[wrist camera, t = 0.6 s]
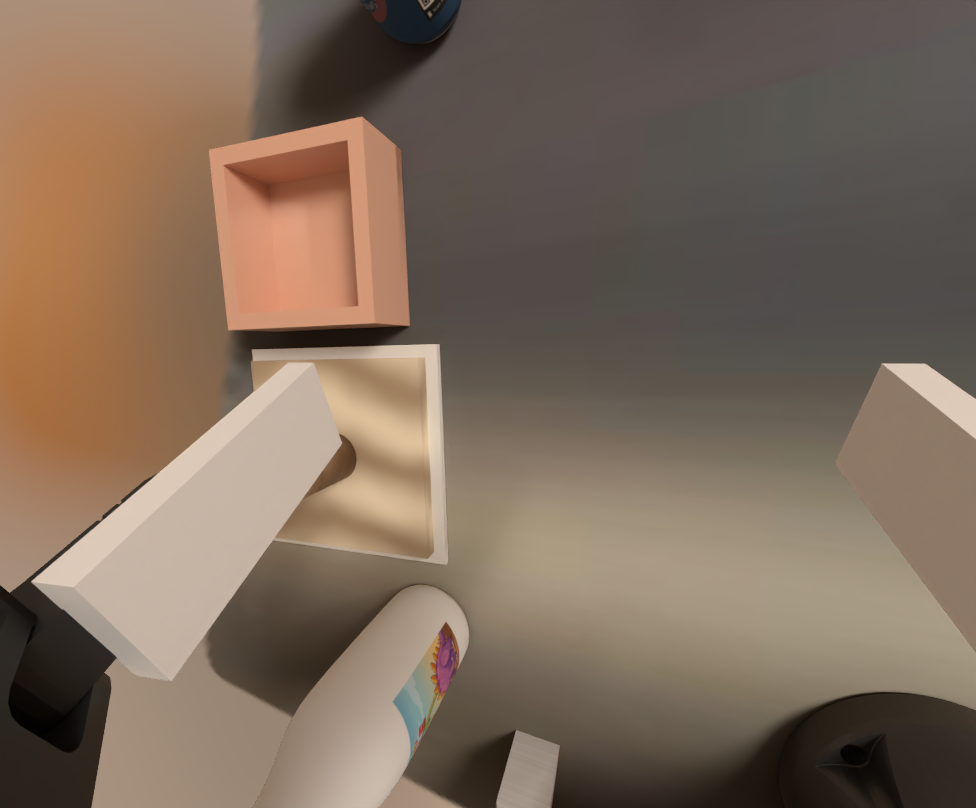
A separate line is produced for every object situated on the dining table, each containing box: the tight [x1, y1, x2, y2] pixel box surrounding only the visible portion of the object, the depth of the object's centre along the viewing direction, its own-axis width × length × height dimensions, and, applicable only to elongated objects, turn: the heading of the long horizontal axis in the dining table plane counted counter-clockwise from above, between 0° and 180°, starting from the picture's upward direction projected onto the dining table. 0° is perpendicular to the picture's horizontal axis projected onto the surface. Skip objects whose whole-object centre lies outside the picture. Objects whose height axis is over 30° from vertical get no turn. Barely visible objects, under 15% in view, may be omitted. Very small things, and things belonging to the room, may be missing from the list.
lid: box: [251, 358, 434, 559], centre depth 32 cm, size 16×16×9 cm
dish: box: [209, 117, 410, 332], centre depth 32 cm, size 13×13×5 cm
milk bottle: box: [252, 585, 469, 808], centre depth 27 cm, size 8×8×20 cm
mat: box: [252, 344, 449, 565], centre depth 37 cm, size 18×18×1 cm
